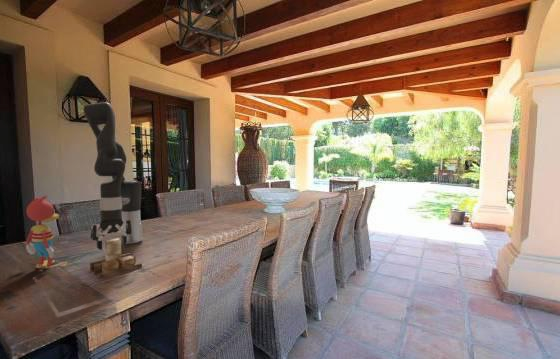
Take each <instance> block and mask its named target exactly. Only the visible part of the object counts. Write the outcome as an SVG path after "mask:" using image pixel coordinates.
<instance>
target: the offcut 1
mask: <svg viewBox="0 0 560 359" xmlns="http://www.w3.org/2000/svg"><path fill="white" fill-rule="evenodd" d="M115 269H119V265H118V261H116V260H115V259H114V260H110V261H106V262H102V273H104V272H108V271H112V270H115Z"/></svg>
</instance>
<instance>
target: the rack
mask: <svg viewBox="0 0 560 359" xmlns="http://www.w3.org/2000/svg"><path fill="white" fill-rule="evenodd" d="M126 256H132V257H134V262H135V264H134V265H130V266H127V267H123V268H119V269H115V270H112V271H108V272H104V273H102V262H105V258H103V259H99V260H94V261H91V262H89V269H88V271H89V272H90V273H92V275H94V276H95V277H96V278H98V280H102V279H105V278H109V277H112V276H116V275H119V274H120V275H121V274H124V273H126V272H127V273H128V272H131V271H134V270H137V269H140V268H144V266H143V263H142V262H138V261H137V262H136V255H131V253H130V252H128V253H125V254H121V258H122V257H126ZM116 261H118V265H119V259H118V260H116Z"/></svg>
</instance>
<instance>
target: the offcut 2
mask: <svg viewBox="0 0 560 359" xmlns="http://www.w3.org/2000/svg"><path fill="white" fill-rule="evenodd" d="M132 256H133V255H131V256H126V257H122V258H119V268H123V267H127V266H130V265H134V264H135V262H134V257H132Z"/></svg>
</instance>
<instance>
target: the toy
mask: <svg viewBox="0 0 560 359" xmlns="http://www.w3.org/2000/svg"><path fill="white" fill-rule="evenodd" d="M47 198H48V196H47V195H42V196H41V197H40V196H36V197H35V198H33V200H32V201H31V202H30V203H29V204H28V205H27V207H26V215H27V217H28V218H29V219H30V220H32V221H35V222H37V224H36V225H34V226H32V227H31V228H30V232H29V234H28V236H27V238H26V246H25V250H26V251H27V253H28V254H30V255H32V256H33V255H35V254H36V252H37V256H39V258H40V259H39V261H38V263H37V264H36V265H35V268H36V269H42V268H45V269H49V268H52V267H57V266H62V267H63V266H66V265H68V264H69V262H68V261H62V262H58V263H57V264H54V263H55V262H56V260H55V259H53V258H54V257H55V255H56V252H55V250H54V248H53V242H52V240H53V239H54V237H55V236H54V234H53V232H52V230H51V229H50V227H49V226H48V225H47V224H42V223H50V222H53V221H55V220H58V219H59V217H60V216H59V214H58V213H56V211H55V209H56V205H55V204H51V203H49V202H48V201H45V200H46V199H47ZM31 241H32V242H33V243H31ZM46 258H47V259H46ZM45 259H46V260H45ZM53 264H54V265H53Z"/></svg>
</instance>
